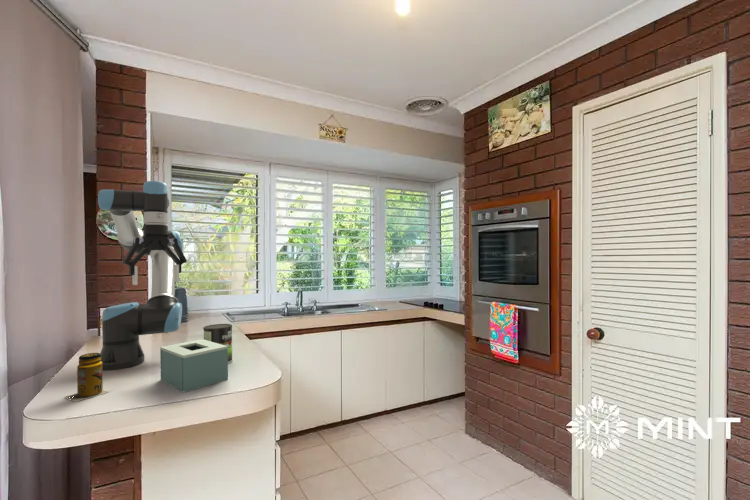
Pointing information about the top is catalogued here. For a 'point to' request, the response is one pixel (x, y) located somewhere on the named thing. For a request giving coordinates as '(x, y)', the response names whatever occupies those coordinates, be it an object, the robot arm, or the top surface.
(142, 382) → the top surface
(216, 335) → the coffee can
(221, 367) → the teal box with hole
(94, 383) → the condiment
